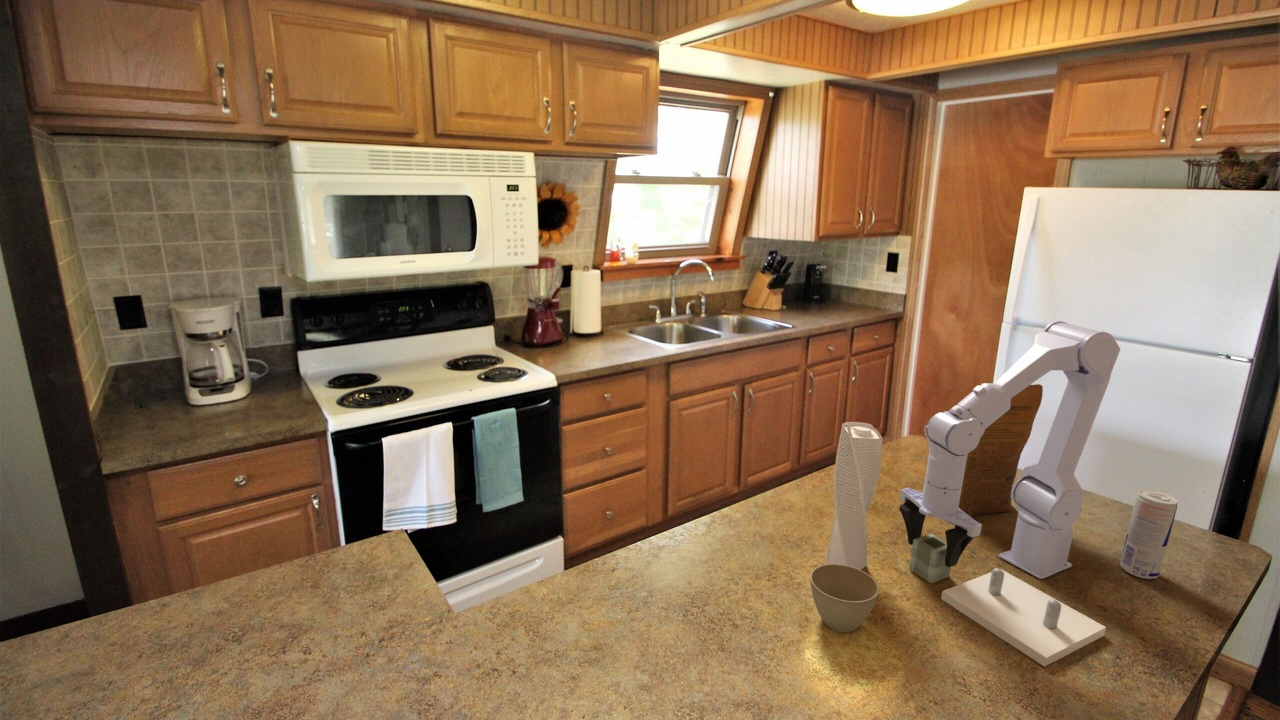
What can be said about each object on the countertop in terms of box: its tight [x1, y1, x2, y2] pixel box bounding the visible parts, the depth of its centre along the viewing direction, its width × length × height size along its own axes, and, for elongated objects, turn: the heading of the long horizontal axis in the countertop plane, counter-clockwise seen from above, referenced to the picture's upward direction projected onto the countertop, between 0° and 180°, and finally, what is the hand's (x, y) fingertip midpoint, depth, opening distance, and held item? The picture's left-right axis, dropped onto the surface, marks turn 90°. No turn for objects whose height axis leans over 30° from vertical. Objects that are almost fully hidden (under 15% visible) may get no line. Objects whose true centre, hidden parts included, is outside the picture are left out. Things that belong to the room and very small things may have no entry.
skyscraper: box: [824, 421, 883, 570], centre depth 109 cm, size 8×8×28 cm
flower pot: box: [810, 563, 880, 633], centre depth 97 cm, size 10×10×7 cm
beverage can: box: [1119, 489, 1179, 580], centre depth 111 cm, size 6×6×15 cm
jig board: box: [940, 567, 1107, 667], centre depth 99 cm, size 15×17×6 cm
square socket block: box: [908, 533, 952, 584], centre depth 110 cm, size 5×5×6 cm
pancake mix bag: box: [958, 383, 1044, 517], centre depth 130 cm, size 7×19×28 cm, turn 103°
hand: (931, 553), depth 110 cm, fingers open, 7 cm apart
